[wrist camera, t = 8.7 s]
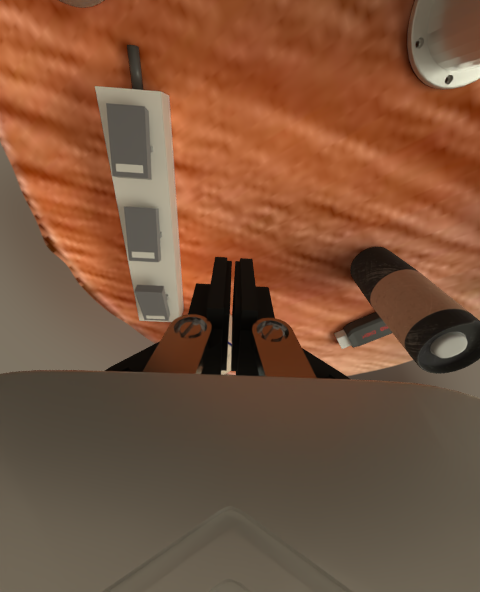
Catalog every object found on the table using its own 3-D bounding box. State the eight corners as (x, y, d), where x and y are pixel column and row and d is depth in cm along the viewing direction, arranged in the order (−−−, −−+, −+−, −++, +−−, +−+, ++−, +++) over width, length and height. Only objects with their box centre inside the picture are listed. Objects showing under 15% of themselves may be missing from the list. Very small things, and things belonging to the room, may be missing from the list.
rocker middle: (128, 206, 34) (123, 206, 32) (158, 208, 34) (155, 208, 33) (132, 258, 36) (128, 260, 35) (161, 260, 36) (158, 262, 35)
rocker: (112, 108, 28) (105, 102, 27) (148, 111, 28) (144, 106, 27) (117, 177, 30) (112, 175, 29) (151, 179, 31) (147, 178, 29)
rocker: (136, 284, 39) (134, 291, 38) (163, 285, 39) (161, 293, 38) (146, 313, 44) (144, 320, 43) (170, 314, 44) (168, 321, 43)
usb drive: (398, 321, 51) (405, 330, 49) (340, 345, 55) (345, 354, 52) (391, 303, 49) (399, 312, 46) (331, 329, 52) (336, 338, 50)
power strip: (101, 44, 28) (78, 30, 24) (166, 50, 29) (154, 37, 25) (145, 307, 48) (137, 323, 44) (183, 309, 48) (178, 325, 44)
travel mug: (351, 290, 47) (415, 381, 30) (345, 254, 43) (415, 335, 26) (395, 277, 45) (489, 364, 28) (393, 238, 41) (500, 313, 24)
